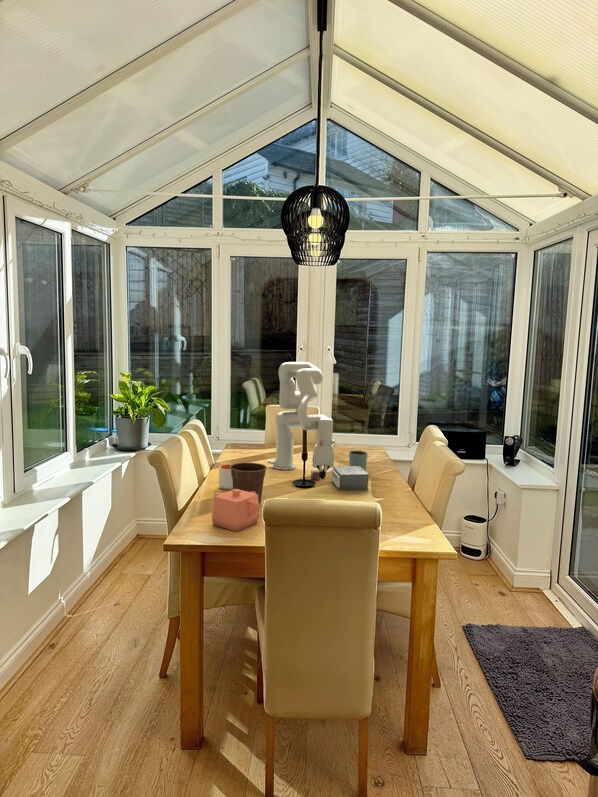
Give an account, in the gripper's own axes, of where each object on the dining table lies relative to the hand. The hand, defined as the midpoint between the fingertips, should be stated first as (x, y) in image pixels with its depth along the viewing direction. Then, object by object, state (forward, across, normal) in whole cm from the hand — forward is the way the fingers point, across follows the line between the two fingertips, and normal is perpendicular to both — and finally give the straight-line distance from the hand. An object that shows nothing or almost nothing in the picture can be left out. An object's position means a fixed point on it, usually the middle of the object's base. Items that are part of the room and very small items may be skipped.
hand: (322, 478), depth 271 cm
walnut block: (+4, +1, -12) cm, 13 cm away
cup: (+4, +46, +1) cm, 46 cm away
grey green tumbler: (+4, -24, -21) cm, 32 cm away
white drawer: (+2, -13, +1) cm, 13 cm away
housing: (+4, -14, +1) cm, 15 cm away
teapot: (+3, +44, +49) cm, 66 cm away
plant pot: (+4, +39, +24) cm, 46 cm away
